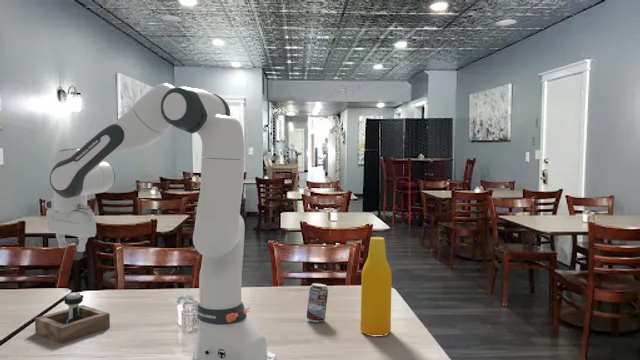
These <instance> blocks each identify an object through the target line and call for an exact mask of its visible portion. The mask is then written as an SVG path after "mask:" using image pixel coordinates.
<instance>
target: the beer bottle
mask: <svg viewBox="0 0 640 360" xmlns="http://www.w3.org/2000/svg"><path fill="white" fill-rule="evenodd" d="M392 276H393V275H392V269H391V267H390V264H389V262H388V260H387V255H386V241H385V237H381V236H371V237H370V241H369V246H368V255H367V259H366V260H365V263H364V265H363V267H362V272H361V287H360V288H361V290H360V291H361V292H360V322H359V323H360V325H359V326H360V327H359V328H360V331H362V332H364V333H366V334H369V335H385V334H387V333H389V332H391V329H392V328H391V327H392V326H391V325H392V323H391V322H392V321H391V320H392V319H391V317H392V284H393V283H392V279H393V277H392ZM362 332H361V333H362ZM389 334H390V333H389Z"/></svg>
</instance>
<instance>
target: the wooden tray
mask: <svg viewBox="0 0 640 360" xmlns="http://www.w3.org/2000/svg"><path fill="white" fill-rule="evenodd" d="M79 314H80V316H82V319H81V320H78V321H74V322H71V323H68V324H66V321H67V320H68V315H69V308H67V309H63V310H60V311H57V312H53V313H49V314H45V315H41V316H39V317H35V318H34V325H35V326H34V327H35V328H34V329H35V330H34V331H35V334H37V335H39V336H42V337H45V338H46V339H49V340H51V341H53V342H54V341H55V342H58V344H59V343H60V344H65V343H67V342H71V341H74V340H77V339H80V338H83V337H86V336H89V335H92V334H95V333H98V332H101V331H104V330H108V329H110V328H111V324H110V323H111V322H110V321H111V318H110V316H111V314H110V312H107V311H104V310H101V309H97V308H94V307H90V306H88V305H84V304H80V305H79Z"/></svg>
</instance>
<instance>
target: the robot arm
mask: <svg viewBox="0 0 640 360" xmlns="http://www.w3.org/2000/svg"><path fill="white" fill-rule="evenodd" d="M230 108H231V107H230V106H229V103H228V102H227V101H226V100H225V99H224V98H223V97H221V96H220V95H218V94H216V93H215V94H214V93H211V92H208V91H206V90H204V89H200V88H193V87H188V86H177V87H175V86H173V85H172V84H169V83H159V84H157V85H155V86H154V87H153V88H151V89H150V90H149V91H147V92H146V93H145V94H143V95H142V96H141V97H140V98H139V99H138V100H137V101H136V102H135V103H134V104H133V105H132V106H131V107H130V108H129V109H128V110H127V111H126V112H125V113H123V115H121V116H120V117H118V119H115V121H114V122H112V123H111V124H109V125H108V126H107V127H105V128H103V129H102V130H101V131H99V132H98V133H97V134H96V135H95V136H93V137H92V138H90V140H89V141H87V142H86V144H84V145H83V146H82V147H81V148H67V149H61V150H59V151H57V152H56V153H55V154H54V158H53V165H52V166H53V167H52V169H51V172H50V174H49V183H50V187H51V188H52V189H53V197H52V198H50V199H48V200H46V201H45V202H44V208H45V209H47V210H46V212H45V213H46V214H45V215H46V217H45V218H46V227H47V230H48V231H49V232H50V233H55V237H56V240H57V242H58V248H60V249H65V248H67V247H68V242H67V241H66V237H65V236H72V237H77V239H78V244H77V245H76V251H77V252H80V253H83V252H85V251H86V244H87V242H88V239H89V238H93V237H94V238H95V237H96V235H97V223H96V216H95V213H94V212H93V209H92V208H91V206H90V205H88V195H94V194H95V195H96V194H101V193H105V192H108V191H109V190H111V189H112V187H113V186H114V184H115V181H116V173H115V171H114V168H113V166H112V165H111V164H110V163H109V162H107V161H106V160H107V159H108V158H110V157H112V156H114V155H115V154H118V153H121V152H126V151H130V150H135V149H141V148H146V147H149V146H151V145H153V144H154V143H156V142H157V141H158V140H160V139H161V138H163V136H164V135H165V134H166V133H167V132H168V131H169V129H171V128H172V127H175V128H177V129H179V130H182V131H185V132H187V133H189V134H195V133H196V134H197V135H198V136H199V137H200V140H201V162H200V164H201V165H200V166H201V167H200V169H201V170H200V186H199V187H200V188H199V195H198V201H197V207H196V214H195V221H194V229H193V232H192V233H193V234H192V243H193V246H194V248H195V250H196V251H197V252H198V253H199V254H200V255H201V256H202V258H201V267H200V271H199V277H198V279H199V280H198V282H199V283H198V284H199V285H198V288H199V290H198V292H199V293H198V296H199V297H198V299H199V301H198V304H197V309H196V311H197V312H196V313H197V319H198V327H197V332H196V341H195V347H194V352H193V355H192V360H275V359H277V358H276V357H277V356H276V354H275V353H273V352H271V351H268V350H267V349H268V347H267V340H266V337H265V335H264V334H263V333H262V332H260V330H259V329H258V328H257V326H255V325H254V324H253V323H252V322H251V320H249V318H248V316H247V315H248V314H247V313H249V312H250V310H249V309H250V307H247V308H246V307H245V305H244V302H243V301H242V278H243V277H242V276H243V275H242V272H243V261H244V251H245V249H244V248H245V229H246V225H245V220H244V218H243V216H242V215H241V214H240V213H241V207H242V206H241V205H242V199H243V192H244V182H245V181H244V178H245V139H244V132H243V126H242V124H241V122H240V121H239V120H238V119H237V118H235V117H233V116H231V109H230Z"/></svg>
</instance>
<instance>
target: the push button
mask: <svg viewBox="0 0 640 360" xmlns="http://www.w3.org/2000/svg"><path fill="white" fill-rule="evenodd" d="M83 300H84V295H82V294H81V293H80V292H78V291H77V292H69V293H67V294H66V296H64V297H63V301H64V304H65V305H67V306H68V309H69V315H68V320H67V321H66V324H68V323H71V322H74V321H78V320H81V319H82V316H80V314H79V306H80V305H81V303H82V302H83Z"/></svg>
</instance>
